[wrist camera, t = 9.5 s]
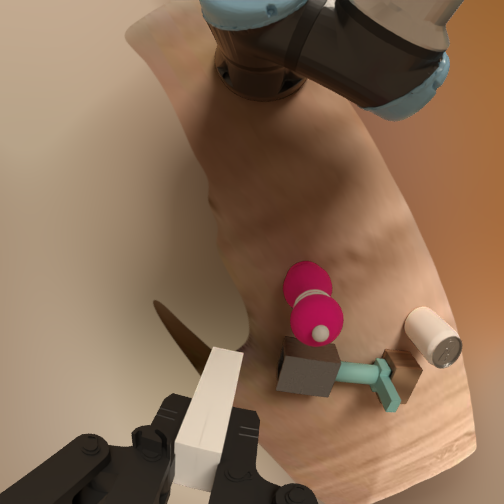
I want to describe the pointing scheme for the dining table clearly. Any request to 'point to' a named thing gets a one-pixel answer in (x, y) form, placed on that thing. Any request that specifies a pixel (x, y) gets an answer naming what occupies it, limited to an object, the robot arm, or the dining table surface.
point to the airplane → (372, 380)
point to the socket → (402, 372)
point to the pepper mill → (312, 304)
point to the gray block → (307, 368)
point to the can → (433, 337)
